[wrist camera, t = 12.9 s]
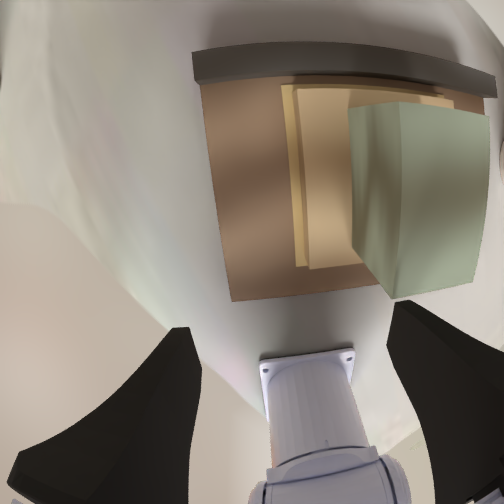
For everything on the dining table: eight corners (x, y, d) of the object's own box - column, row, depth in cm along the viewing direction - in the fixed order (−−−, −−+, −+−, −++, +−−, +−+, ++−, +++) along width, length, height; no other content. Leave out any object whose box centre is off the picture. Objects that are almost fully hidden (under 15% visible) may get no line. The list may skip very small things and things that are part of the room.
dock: (458, 256, 19) (483, 276, 16) (233, 285, 19) (230, 316, 16) (463, 78, 13) (494, 76, 10) (202, 67, 14) (191, 52, 11)
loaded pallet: (435, 241, 16) (497, 292, 10) (304, 257, 16) (333, 329, 10) (438, 101, 12) (517, 102, 6) (291, 93, 13) (325, 66, 7)
